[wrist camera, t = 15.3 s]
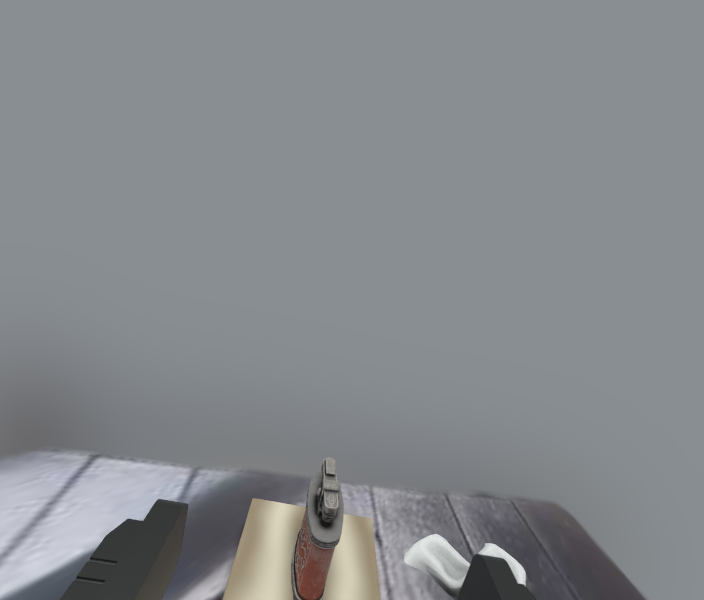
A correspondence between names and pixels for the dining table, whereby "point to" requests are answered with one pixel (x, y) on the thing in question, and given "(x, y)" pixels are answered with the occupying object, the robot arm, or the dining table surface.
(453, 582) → the cloth
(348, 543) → the base block
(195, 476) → the dining table surface
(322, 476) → the lighter
